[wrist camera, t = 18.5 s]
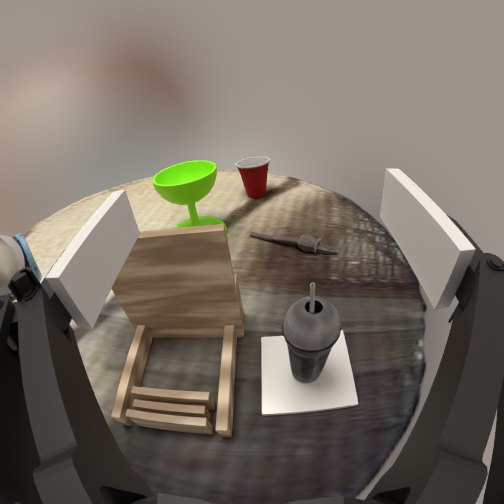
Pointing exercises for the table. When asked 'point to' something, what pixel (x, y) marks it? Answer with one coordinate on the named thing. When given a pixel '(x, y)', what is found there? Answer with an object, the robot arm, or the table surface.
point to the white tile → (305, 394)
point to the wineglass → (188, 188)
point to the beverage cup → (310, 335)
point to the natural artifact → (300, 242)
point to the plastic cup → (254, 175)
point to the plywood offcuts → (172, 410)
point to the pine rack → (180, 305)
